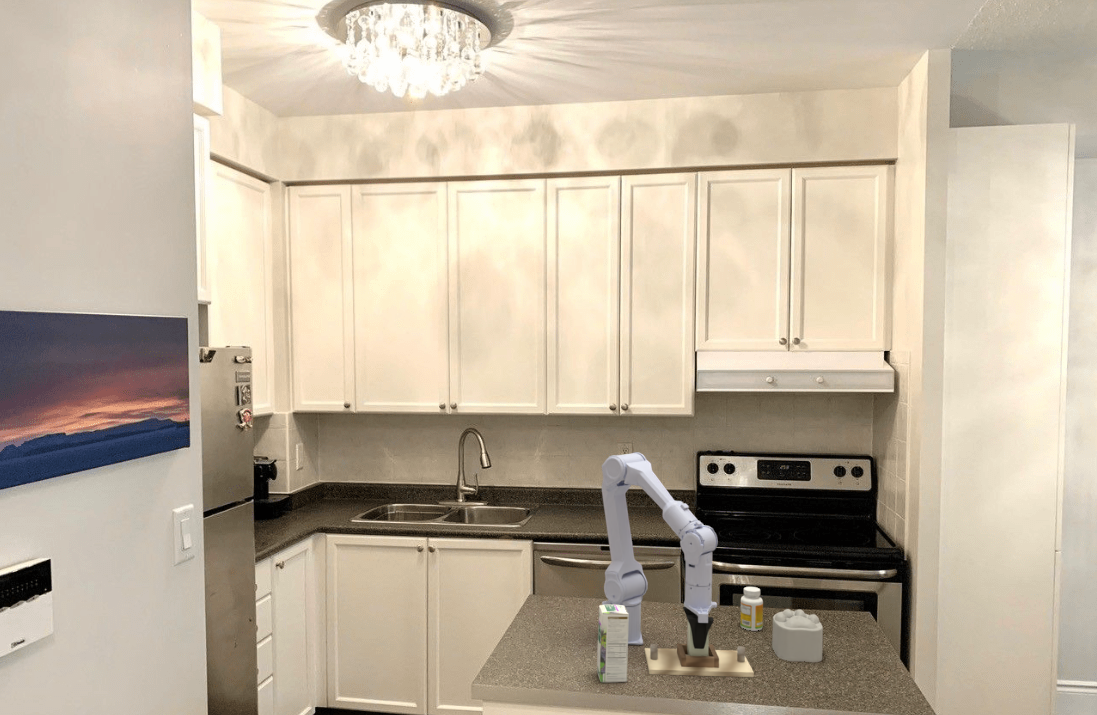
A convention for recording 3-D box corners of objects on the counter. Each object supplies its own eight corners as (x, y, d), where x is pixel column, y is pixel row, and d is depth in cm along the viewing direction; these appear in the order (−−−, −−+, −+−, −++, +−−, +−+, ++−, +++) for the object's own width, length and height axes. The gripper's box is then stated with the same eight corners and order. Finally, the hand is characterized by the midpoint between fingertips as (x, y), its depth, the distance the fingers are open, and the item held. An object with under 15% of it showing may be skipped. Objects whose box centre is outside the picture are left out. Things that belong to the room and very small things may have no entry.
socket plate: (649, 674, 167) (649, 655, 167) (644, 652, 179) (645, 634, 179) (753, 677, 166) (754, 658, 166) (742, 655, 178) (742, 637, 178)
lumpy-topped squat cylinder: (778, 660, 175) (779, 622, 175) (767, 639, 188) (768, 603, 188) (826, 663, 175) (827, 624, 174) (811, 641, 187) (812, 605, 187)
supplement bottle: (760, 624, 198) (761, 586, 198) (764, 632, 193) (765, 592, 193) (738, 623, 199) (739, 585, 199) (741, 630, 194) (742, 591, 193)
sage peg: (689, 658, 171) (690, 622, 171) (687, 651, 175) (687, 615, 175) (708, 659, 171) (708, 622, 171) (705, 652, 175) (705, 616, 175)
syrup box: (596, 671, 168) (597, 604, 168) (623, 671, 169) (624, 603, 168) (600, 683, 162) (601, 613, 162) (628, 682, 163) (629, 612, 163)
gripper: (722, 593, 165) (721, 657, 165) (711, 573, 180) (710, 632, 180) (689, 592, 165) (688, 656, 166) (680, 572, 180) (679, 631, 180)
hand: (697, 644), depth 173 cm, fingers closed on sage peg, 4 cm apart
